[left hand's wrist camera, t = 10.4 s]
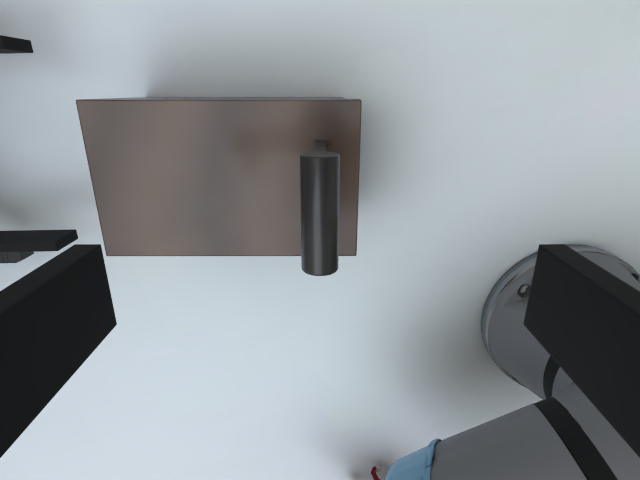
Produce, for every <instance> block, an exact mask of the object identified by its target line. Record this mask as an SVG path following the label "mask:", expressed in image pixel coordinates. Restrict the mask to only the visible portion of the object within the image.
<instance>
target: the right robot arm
mask: <svg viewBox="0 0 640 480" xmlns="http://www.w3.org/2000/svg"><path fill="white" fill-rule="evenodd" d="M0 53H33V49H32V45H31V41H29V40H24V39H18V38H12V37H7V36H0ZM76 239H78V236H77V232H76V230H31V231H0V263H17V262H19V261H21V260H23V259H25V258H27V257H29V256H30V255H32V254H34V252H33V251H58V250H60V249H62V248H63V247H65V246H67V245H68V244H70V243H72V242H73V241H75V240H76Z"/></svg>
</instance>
